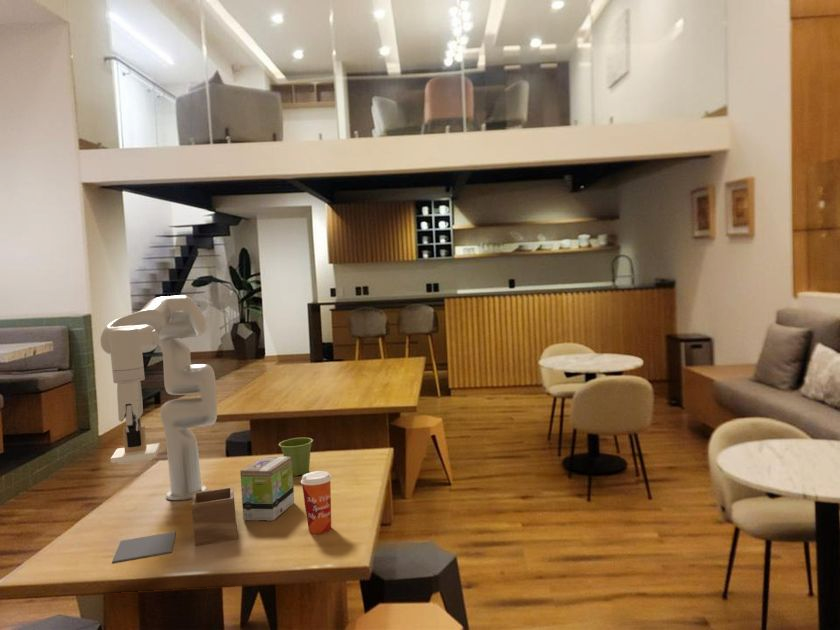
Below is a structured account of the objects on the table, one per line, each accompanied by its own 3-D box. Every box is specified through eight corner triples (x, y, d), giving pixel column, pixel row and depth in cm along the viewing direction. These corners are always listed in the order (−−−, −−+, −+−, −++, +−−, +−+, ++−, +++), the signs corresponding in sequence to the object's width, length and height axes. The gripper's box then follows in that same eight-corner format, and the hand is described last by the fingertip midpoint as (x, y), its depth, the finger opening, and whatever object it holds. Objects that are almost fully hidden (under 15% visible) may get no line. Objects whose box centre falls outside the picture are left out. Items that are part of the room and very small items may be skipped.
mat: (120, 542, 177) (120, 540, 177) (175, 533, 181) (175, 531, 181) (112, 563, 163) (112, 561, 163) (171, 552, 167) (171, 551, 167)
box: (196, 531, 181) (193, 492, 180) (236, 524, 184) (233, 486, 183) (195, 546, 171) (191, 504, 170) (237, 538, 174) (233, 498, 173)
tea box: (275, 521, 185) (270, 470, 184) (242, 521, 187) (238, 470, 186) (295, 502, 199) (291, 455, 198) (265, 502, 201) (261, 455, 200)
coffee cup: (310, 538, 171) (305, 482, 170) (300, 528, 178) (296, 474, 177) (340, 530, 174) (335, 475, 174) (329, 521, 182) (325, 468, 181)
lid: (117, 456, 174) (114, 426, 174) (160, 450, 177) (157, 421, 177) (111, 466, 164) (108, 434, 164) (156, 460, 167) (153, 429, 167)
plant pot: (288, 468, 236) (285, 438, 236) (319, 467, 235) (317, 437, 234) (276, 479, 225) (273, 446, 224) (309, 478, 223) (306, 445, 222)
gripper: (118, 373, 176) (124, 440, 177) (107, 381, 161) (114, 454, 162) (147, 370, 178) (154, 436, 179) (140, 377, 163) (147, 450, 164)
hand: (135, 444), depth 170 cm, fingers closed on lid
